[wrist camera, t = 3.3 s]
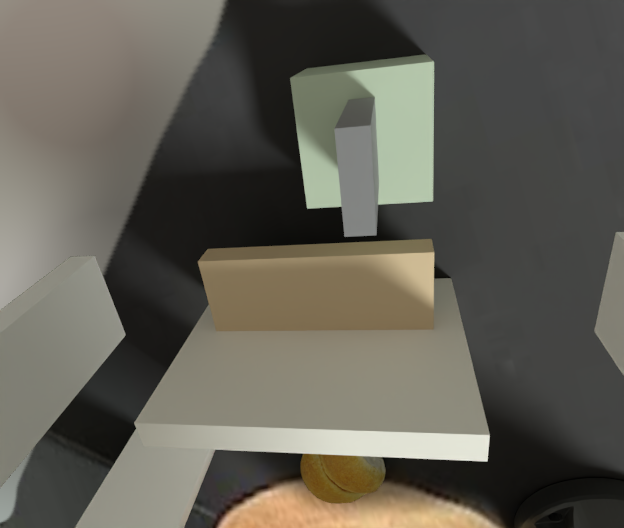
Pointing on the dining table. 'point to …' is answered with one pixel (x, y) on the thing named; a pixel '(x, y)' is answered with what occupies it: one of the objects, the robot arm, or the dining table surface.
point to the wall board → (323, 357)
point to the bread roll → (341, 476)
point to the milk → (148, 487)
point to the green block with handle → (366, 136)
